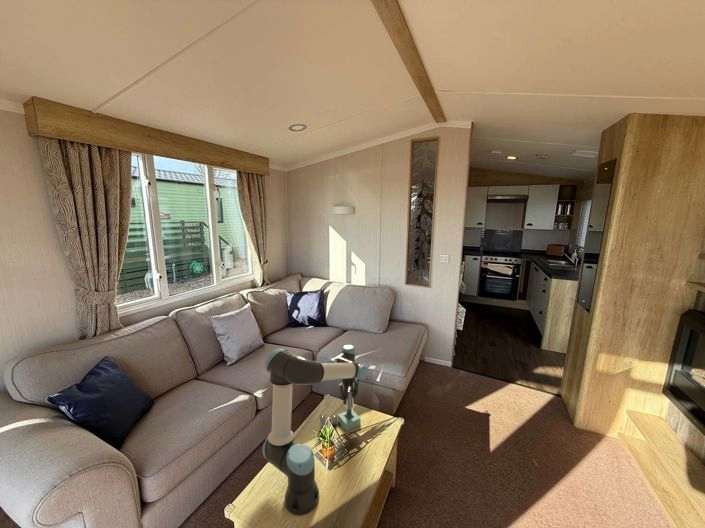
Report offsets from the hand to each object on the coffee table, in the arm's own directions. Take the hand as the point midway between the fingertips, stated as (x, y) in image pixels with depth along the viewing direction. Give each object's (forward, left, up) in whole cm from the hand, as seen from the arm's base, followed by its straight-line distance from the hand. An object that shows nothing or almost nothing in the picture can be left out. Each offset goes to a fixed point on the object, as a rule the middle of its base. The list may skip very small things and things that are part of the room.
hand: (349, 407), depth 180 cm
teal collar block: (0, 0, -10) cm, 10 cm away
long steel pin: (0, 0, -5) cm, 5 cm away
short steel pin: (-8, +4, -10) cm, 14 cm away
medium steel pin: (-16, +3, -10) cm, 19 cm away
